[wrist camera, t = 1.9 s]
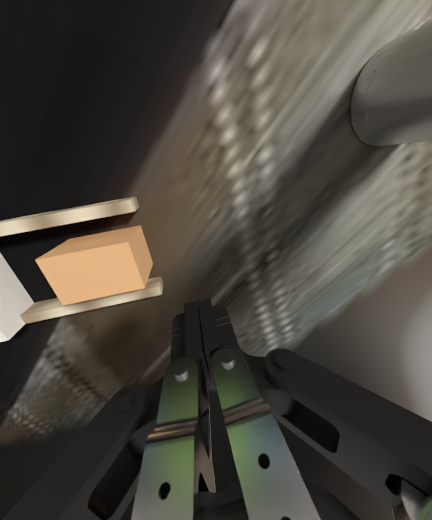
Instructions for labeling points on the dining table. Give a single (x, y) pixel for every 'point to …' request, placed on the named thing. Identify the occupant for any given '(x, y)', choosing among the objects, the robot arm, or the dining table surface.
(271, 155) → the dining table surface
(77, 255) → the block
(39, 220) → the guide lane
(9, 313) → the stop block
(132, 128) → the dining table surface
